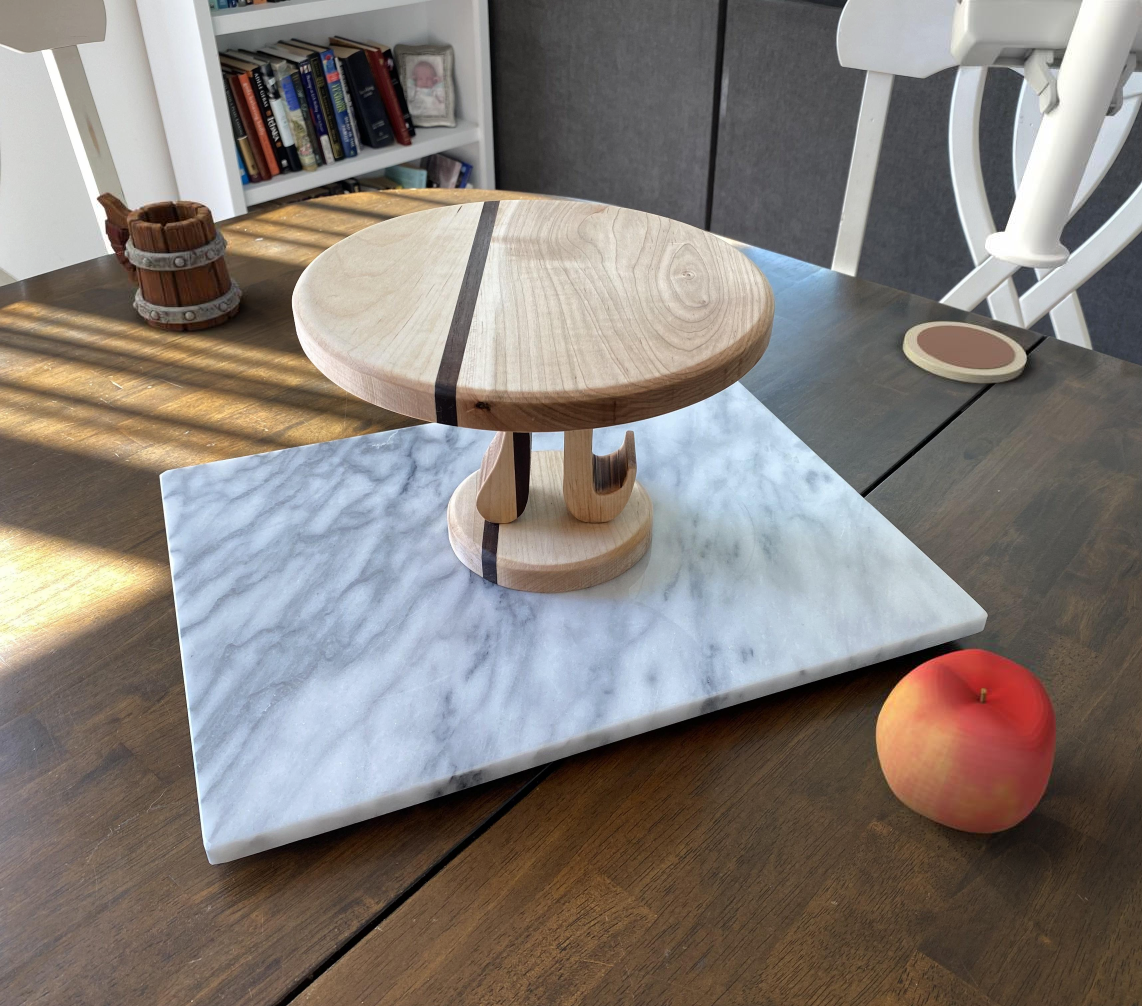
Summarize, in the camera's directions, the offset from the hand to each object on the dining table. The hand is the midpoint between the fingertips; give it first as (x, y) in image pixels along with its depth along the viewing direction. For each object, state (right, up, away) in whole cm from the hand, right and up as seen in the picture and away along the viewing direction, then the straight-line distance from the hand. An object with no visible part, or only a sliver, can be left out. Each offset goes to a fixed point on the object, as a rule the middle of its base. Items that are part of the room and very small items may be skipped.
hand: (1081, 111), depth 76 cm
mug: (-88, -10, +34) cm, 95 cm away
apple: (-19, -50, -19) cm, 57 cm away
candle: (-1, -10, +8) cm, 13 cm away
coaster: (+2, -16, +29) cm, 33 cm away
